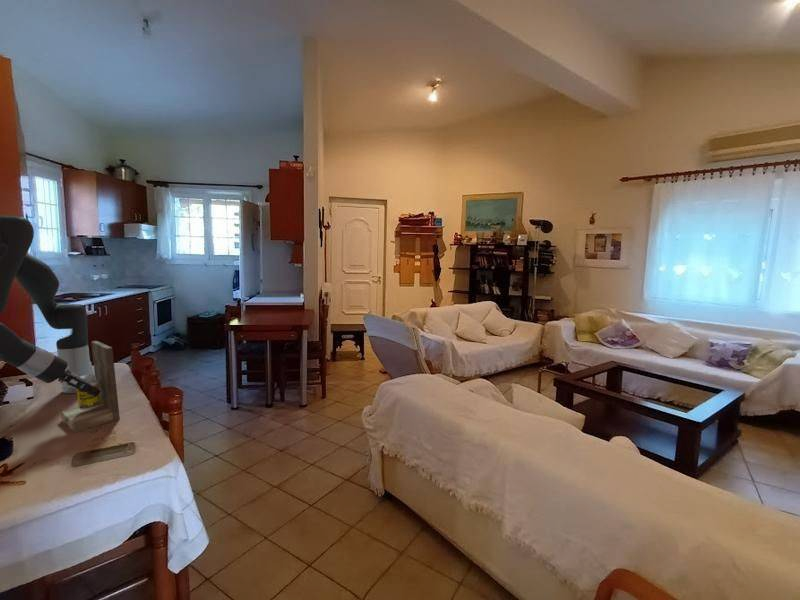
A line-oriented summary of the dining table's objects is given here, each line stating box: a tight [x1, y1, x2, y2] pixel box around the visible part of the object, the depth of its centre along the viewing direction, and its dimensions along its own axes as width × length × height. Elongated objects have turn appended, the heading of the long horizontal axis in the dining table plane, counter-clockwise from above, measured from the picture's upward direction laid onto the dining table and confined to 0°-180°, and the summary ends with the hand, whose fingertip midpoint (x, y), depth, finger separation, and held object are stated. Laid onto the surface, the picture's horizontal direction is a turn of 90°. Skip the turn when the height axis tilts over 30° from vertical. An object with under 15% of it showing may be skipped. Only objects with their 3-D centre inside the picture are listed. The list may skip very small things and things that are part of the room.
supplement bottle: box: [76, 374, 100, 410], centre depth 128 cm, size 6×6×10 cm
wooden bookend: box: [60, 340, 121, 433], centre depth 127 cm, size 14×12×24 cm
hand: (94, 391), depth 129 cm, fingers closed on supplement bottle, 5 cm apart
